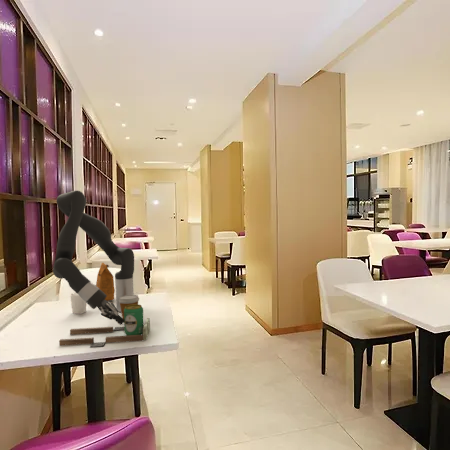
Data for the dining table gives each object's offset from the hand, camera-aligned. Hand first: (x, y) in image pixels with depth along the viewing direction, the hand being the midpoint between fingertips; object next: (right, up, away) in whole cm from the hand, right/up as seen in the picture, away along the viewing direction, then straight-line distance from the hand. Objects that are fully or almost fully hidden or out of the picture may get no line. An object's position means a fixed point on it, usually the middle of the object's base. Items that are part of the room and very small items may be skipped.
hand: (122, 322), depth 151 cm
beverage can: (+4, -6, +3) cm, 8 cm away
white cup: (-34, -5, +39) cm, 52 cm away
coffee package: (-28, -4, +63) cm, 70 cm away
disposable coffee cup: (-2, -5, +20) cm, 21 cm away
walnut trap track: (-7, -6, 0) cm, 9 cm away
